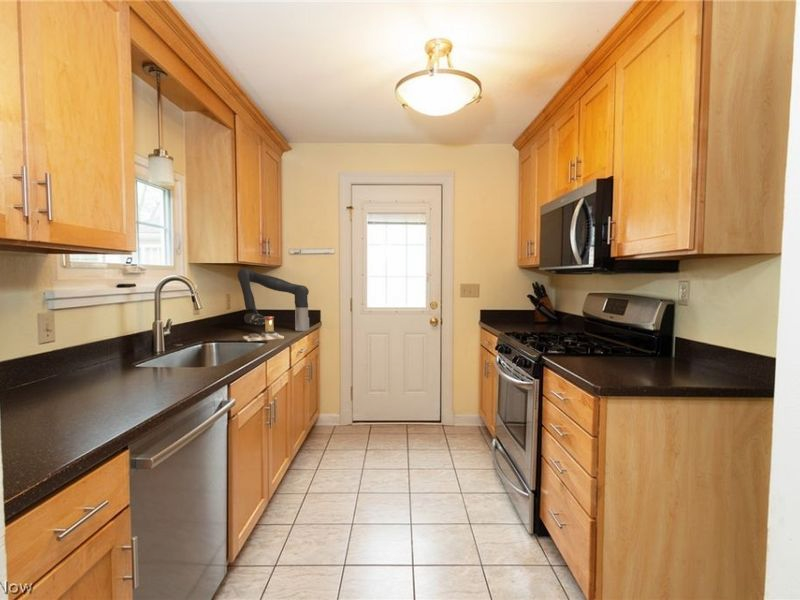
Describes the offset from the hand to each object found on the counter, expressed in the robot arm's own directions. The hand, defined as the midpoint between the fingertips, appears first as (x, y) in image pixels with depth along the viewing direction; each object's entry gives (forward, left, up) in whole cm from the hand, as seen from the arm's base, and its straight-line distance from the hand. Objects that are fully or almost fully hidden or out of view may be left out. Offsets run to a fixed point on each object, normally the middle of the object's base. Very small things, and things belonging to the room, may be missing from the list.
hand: (264, 321), depth 265 cm
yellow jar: (0, +11, -8) cm, 14 cm away
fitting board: (+4, +11, -9) cm, 15 cm away
